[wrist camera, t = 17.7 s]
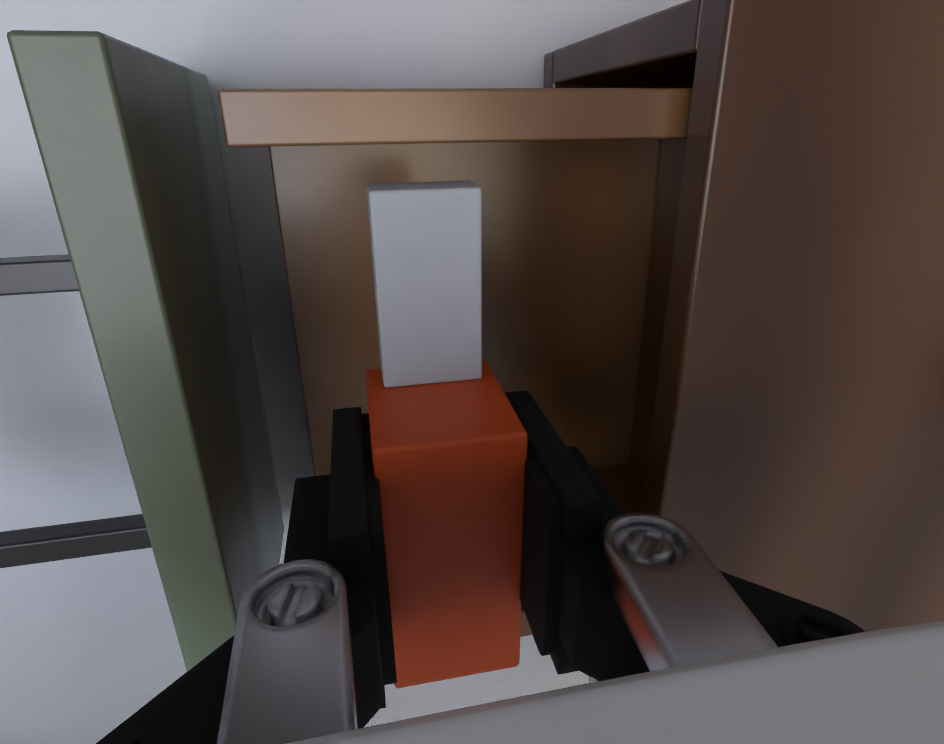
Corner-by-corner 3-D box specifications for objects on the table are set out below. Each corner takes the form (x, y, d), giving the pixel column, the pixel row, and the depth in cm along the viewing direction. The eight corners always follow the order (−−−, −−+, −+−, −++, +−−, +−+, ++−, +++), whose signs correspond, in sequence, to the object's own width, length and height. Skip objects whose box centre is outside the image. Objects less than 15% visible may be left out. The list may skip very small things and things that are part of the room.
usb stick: (486, 558, 14) (520, 668, 11) (384, 573, 13) (394, 690, 11) (487, 179, 10) (538, 205, 7) (347, 183, 10) (349, 213, 7)
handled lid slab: (-17, 570, 18) (-210, 807, 11) (-233, 73, 12) (-800, 17, 6) (629, 481, 21) (746, 622, 15) (673, 75, 16) (877, 41, 10)
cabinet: (530, 493, 22) (636, 695, 14) (543, 53, 16) (732, -18, 8) (862, 448, 24) (1104, 596, 17) (973, 57, 19) (1416, 6, 11)
